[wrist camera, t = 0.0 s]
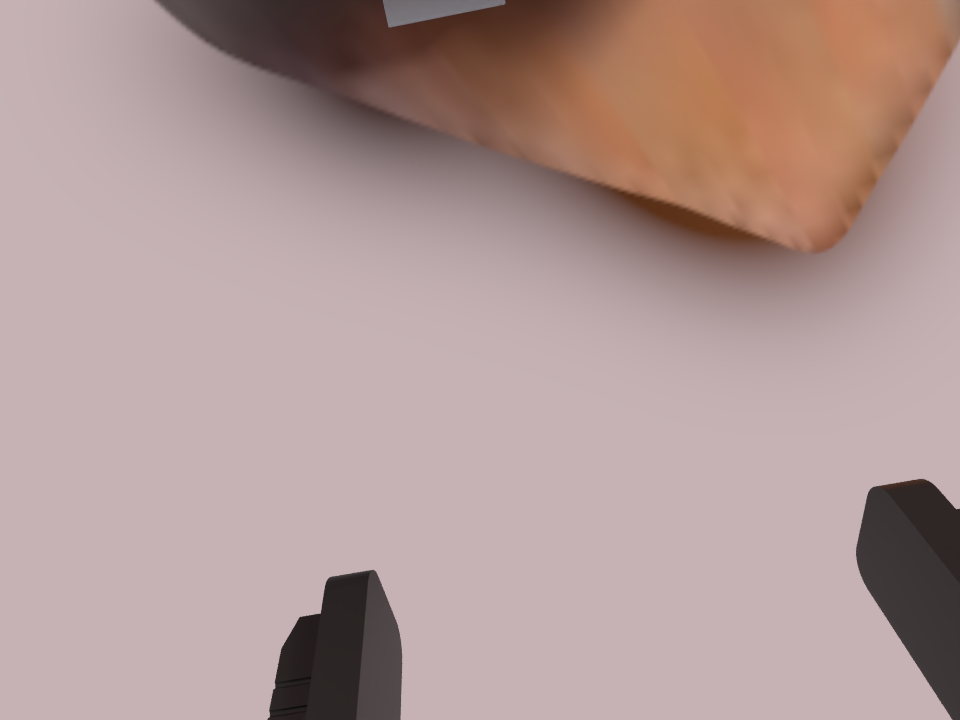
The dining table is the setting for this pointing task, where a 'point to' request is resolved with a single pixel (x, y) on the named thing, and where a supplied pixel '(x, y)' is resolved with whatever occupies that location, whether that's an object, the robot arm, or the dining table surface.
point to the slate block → (430, 9)
